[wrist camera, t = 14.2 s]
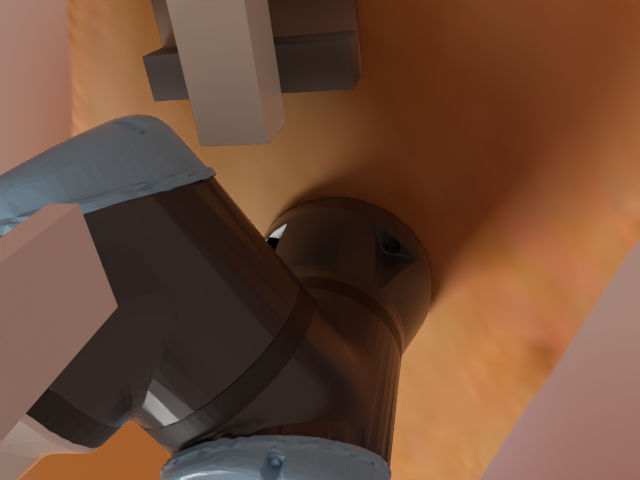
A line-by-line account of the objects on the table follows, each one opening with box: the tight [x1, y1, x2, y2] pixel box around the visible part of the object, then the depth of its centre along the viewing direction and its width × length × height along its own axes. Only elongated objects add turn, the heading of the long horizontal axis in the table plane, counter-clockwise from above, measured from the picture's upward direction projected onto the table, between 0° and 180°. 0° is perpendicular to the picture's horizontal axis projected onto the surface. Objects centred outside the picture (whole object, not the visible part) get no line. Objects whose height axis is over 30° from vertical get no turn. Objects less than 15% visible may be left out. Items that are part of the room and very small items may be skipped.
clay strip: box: [166, 0, 286, 146], centre depth 31 cm, size 16×4×4 cm, turn 7°
